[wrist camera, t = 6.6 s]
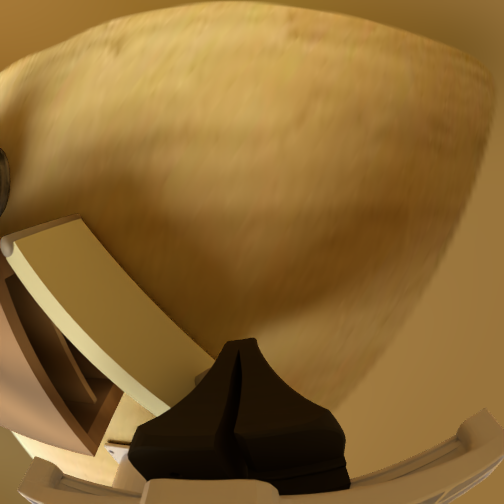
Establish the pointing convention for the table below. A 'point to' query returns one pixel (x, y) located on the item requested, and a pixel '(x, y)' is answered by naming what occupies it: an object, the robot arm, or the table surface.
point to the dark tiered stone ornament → (4, 181)
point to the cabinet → (48, 376)
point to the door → (106, 313)
